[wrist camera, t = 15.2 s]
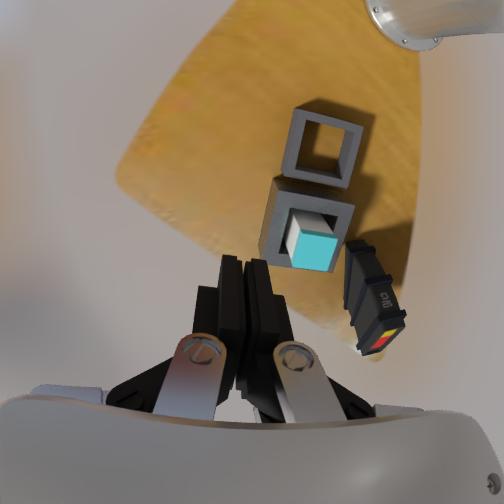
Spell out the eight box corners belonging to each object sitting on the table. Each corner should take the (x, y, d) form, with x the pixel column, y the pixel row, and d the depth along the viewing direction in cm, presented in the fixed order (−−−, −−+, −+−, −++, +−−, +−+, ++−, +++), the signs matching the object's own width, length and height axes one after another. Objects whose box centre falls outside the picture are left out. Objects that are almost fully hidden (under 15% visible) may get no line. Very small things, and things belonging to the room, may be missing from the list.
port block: (272, 178, 37) (278, 190, 33) (341, 191, 38) (355, 205, 34) (258, 244, 42) (261, 264, 37) (322, 253, 43) (332, 272, 39)
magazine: (371, 223, 39) (409, 323, 31) (354, 272, 50) (378, 355, 41) (346, 226, 39) (381, 331, 31) (334, 276, 50) (356, 360, 41)
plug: (287, 203, 39) (302, 233, 31) (317, 208, 39) (338, 239, 32) (280, 231, 41) (292, 267, 33) (309, 235, 41) (327, 271, 34)
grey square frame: (294, 108, 33) (299, 109, 30) (354, 124, 34) (364, 127, 31) (280, 169, 37) (284, 176, 34) (339, 182, 38) (347, 189, 35)
